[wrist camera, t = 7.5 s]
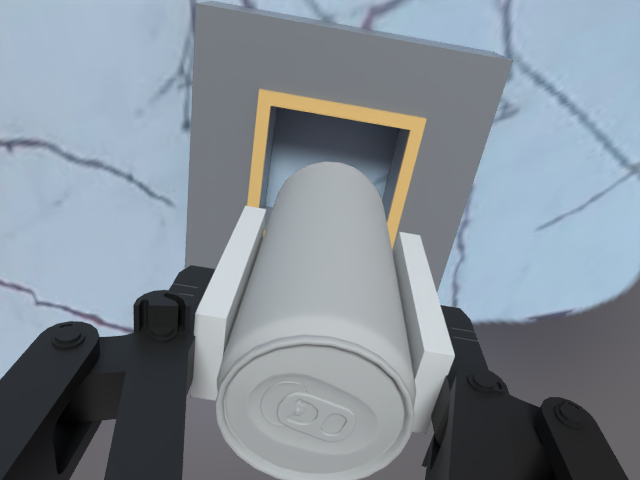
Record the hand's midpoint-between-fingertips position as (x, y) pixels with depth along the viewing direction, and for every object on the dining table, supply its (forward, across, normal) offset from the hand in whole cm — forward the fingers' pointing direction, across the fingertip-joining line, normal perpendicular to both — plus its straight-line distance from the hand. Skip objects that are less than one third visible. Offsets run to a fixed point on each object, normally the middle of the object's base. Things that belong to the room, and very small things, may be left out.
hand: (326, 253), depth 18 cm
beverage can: (+4, 0, 0) cm, 4 cm away
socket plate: (+10, 0, 0) cm, 10 cm away
